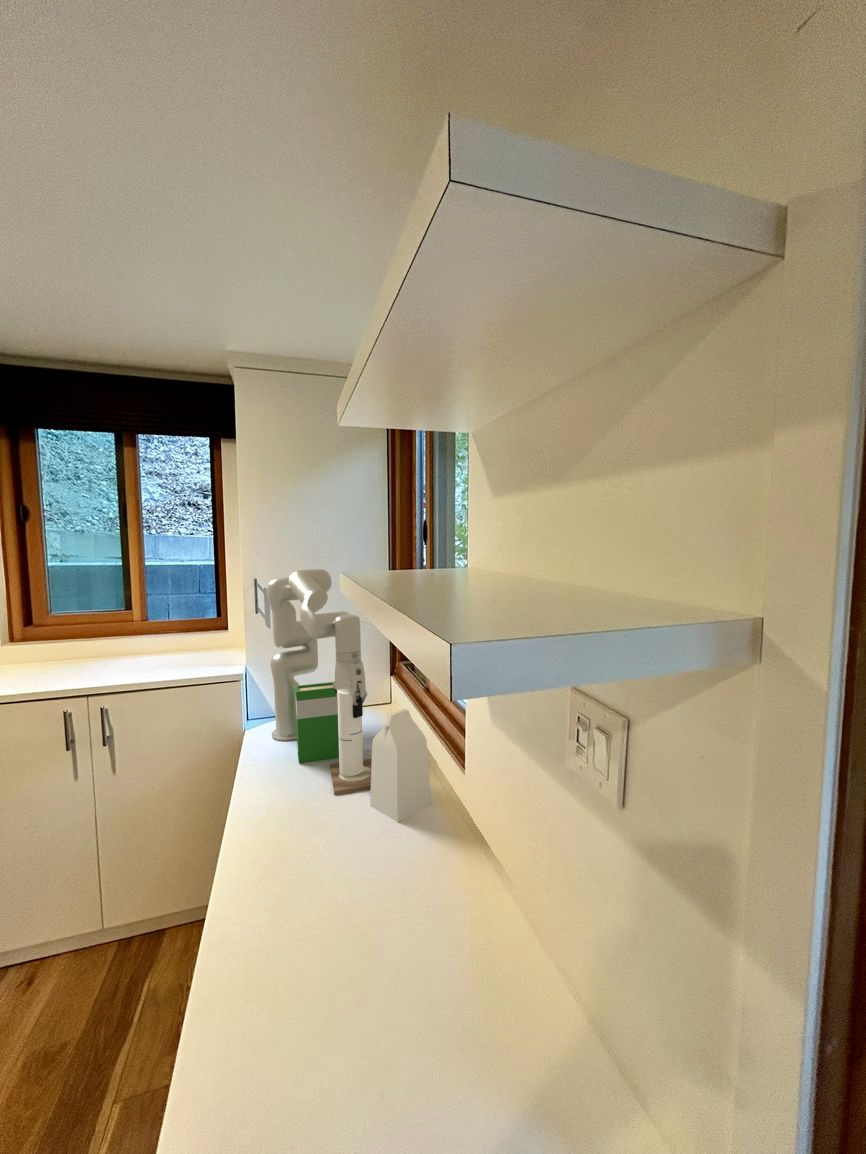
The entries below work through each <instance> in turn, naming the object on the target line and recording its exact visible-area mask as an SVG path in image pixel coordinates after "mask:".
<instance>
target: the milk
mask: <svg viewBox="0 0 866 1154" xmlns="http://www.w3.org/2000/svg"><path fill="white" fill-rule="evenodd" d="M416 723H417V722H415V721H414V719H413V717H412V715H411V714H410V710H409V709H407V708H404V709H401V710H397V711H394V712H391V713H388V715H387V719H386V723H385V725H384V727H383V728H382V729H381V730H380V731H379V732H377V733H376V734H375V736H374V737H373V739H372V742H371V743H372V745H371V759H372V766H371V790H370V795H369V796H370V800H369V805H370V807H371V808H373V809H375V810H376V811H378V812H380V814H382V815H385V817H387V818H390V820H393V821H394V822H396V823H399V822H401V821H402V820H405V819H407V818H408V817H410V816H412V815H414V814H416V813H418V812H420V811H422V810H423V809H425V808H428V807H429V806H431V805H432V802H431V801H432V800H431V786H430V771H429V770H430V769H429V757H428V756H429V754H428V742H427V738H426V735H425V734H424V733H423V731H422V730H421V729H420V727H419V726H418V725H417V724H416Z"/></svg>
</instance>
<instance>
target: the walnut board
mask: <svg viewBox="0 0 866 1154" xmlns="http://www.w3.org/2000/svg"><path fill="white" fill-rule="evenodd" d="M371 766H372V758H365V759H364V758H363V771H362V772H361V773H360V774H357V775H354V776H345V775H342V774H341V773H340V767H339V762H336V763H330V764H329V768H330V775H331V782H332V788H333V794H334V796H336V795H337V796H338V795H343V794H348V793H349V794H350V793H351V794H352V793H357V792H365V791H371Z"/></svg>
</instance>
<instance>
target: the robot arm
mask: <svg viewBox="0 0 866 1154" xmlns="http://www.w3.org/2000/svg"><path fill="white" fill-rule="evenodd" d="M266 587H267V588H266V597H267V601H268V603H269V607H270V609H271V615H272V636H273V642H274V645H275V647H277V648H279V649H290V648H297V647H301V648H300V649H294V650H287V651H286V650H285V651H282V652H281V651H280V652H279V653H276V654H275V655H274V654H273V656H272V658H271V659H270V670H271V675H272V680H273V691H274V692H273V693H274V694H273V695H274V712H275V713H274V716H275V717H274V718H275V729H274V730H273V731H272V732H271V738H272V739H273V740H276V741H287V742H288V741H293V740H297V720H296V693H295V686H299V685H300V683H299V682H298V681H297V680H296V679H295V677H297V676H302V675H306V674H311V673H313V672H314V673H315V671H317V669H318V665H319V649H318V648H319V647H318V640H321V639H326V638H334V639H335V647H334V648H335V666H334V680H333V681H332V682H333V687H334V689H335V693H336V698H337V690H340V691H343V692H346V693H349V694H350V696H352V699H353V702H354V705H353V718H358V717H361V716H362V717H363V716H364V714H363V713H364V711H363V710H364V709H363V705H364V702H365V700H366V698H367V696H368V692H367V687H366V685H367V684H366V676H365V675H366V673H365V668H364V664H363V663H364V662H363V661H362V644H361V643H362V642H361V641H362V639H361V636H362V635H361V620H360V616H358V615H356V614H351V613H349V612H347V611H334V612H325V613H323V612H322V613H319V614H318V613H317V612H319V611H320V610H321V609H322V608H324V607H325V605H326V604H327V602H328V598H329V597H328V592H329V591H330V590H331V587H332V577H331V575H330V573H329V572H328V571H327V570H326V569H322V568H315V569H313V568H312V569H300V570H297V571H294V572H292V573H291V574H290V575H289V576H288V577H287V576H286V577H278V578H275V579H273V580H272V579H271V580H270V581H269V582H268V584H267V586H266ZM291 601H299V602H300V603H301V607H300V609H299V617H300V619H299V620H297V610H296V607H295V606H294V605H293V603H292V602H291ZM355 692H359V693H357V694H355ZM356 696H359V698H358V699H356ZM337 708H338V699H337Z"/></svg>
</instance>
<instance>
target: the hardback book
mask: <svg viewBox="0 0 866 1154" xmlns="http://www.w3.org/2000/svg"><path fill="white" fill-rule="evenodd" d="M333 682H334V681H329V682H320V683H311V684H310V683H309V684H302V685H301V684H299V686H295V693H296V720H297V739H296V741H297V746H296V747H297V758H298V759H297V760H298V765H302V764H307V763H314V762H322V761H327V760H328V761H329V760H335V759H339V733H338V708H337V698H336V693H335V689H334V687H333Z"/></svg>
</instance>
